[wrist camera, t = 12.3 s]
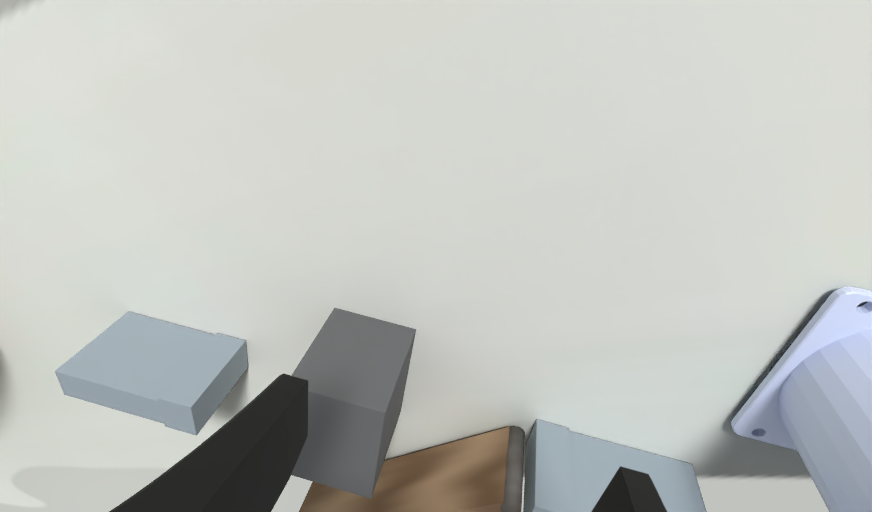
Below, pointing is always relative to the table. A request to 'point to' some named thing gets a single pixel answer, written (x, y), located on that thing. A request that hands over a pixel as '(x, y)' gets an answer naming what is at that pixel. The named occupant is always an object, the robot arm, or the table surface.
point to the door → (440, 479)
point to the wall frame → (227, 361)
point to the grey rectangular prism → (352, 399)
